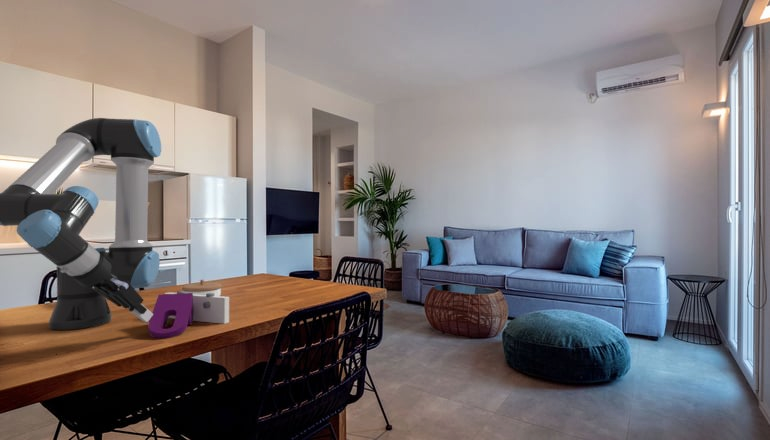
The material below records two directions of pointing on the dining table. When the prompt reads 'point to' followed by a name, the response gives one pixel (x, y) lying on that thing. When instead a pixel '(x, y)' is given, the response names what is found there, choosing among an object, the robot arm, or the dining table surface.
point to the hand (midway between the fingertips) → (148, 318)
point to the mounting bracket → (171, 306)
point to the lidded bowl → (203, 288)
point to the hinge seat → (209, 308)
